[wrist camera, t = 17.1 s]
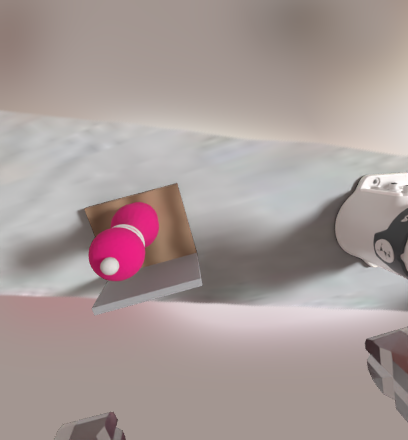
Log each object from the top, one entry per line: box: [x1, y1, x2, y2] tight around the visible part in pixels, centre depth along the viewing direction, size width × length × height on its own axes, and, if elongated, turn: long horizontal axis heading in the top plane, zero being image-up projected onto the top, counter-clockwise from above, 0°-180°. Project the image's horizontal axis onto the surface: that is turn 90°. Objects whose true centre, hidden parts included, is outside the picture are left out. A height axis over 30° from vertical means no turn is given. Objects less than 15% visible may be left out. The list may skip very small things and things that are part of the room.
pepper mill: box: [89, 202, 159, 281], centre depth 34 cm, size 7×7×20 cm
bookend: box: [85, 183, 202, 315], centre depth 41 cm, size 16×14×12 cm
